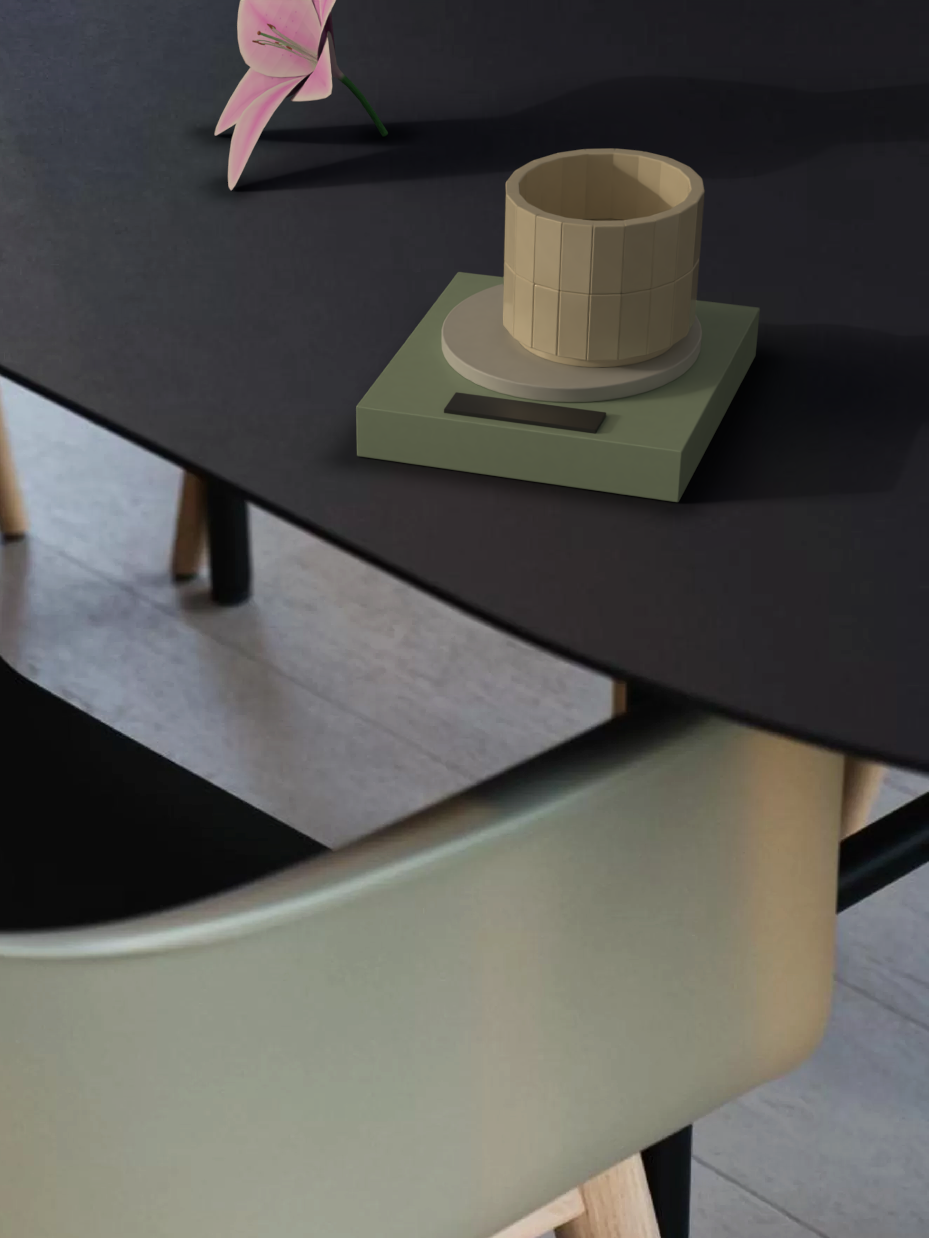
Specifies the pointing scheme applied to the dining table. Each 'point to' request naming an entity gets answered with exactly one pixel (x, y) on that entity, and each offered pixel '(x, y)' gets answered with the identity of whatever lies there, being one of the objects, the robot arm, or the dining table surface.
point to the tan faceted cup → (601, 255)
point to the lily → (280, 68)
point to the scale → (553, 400)
